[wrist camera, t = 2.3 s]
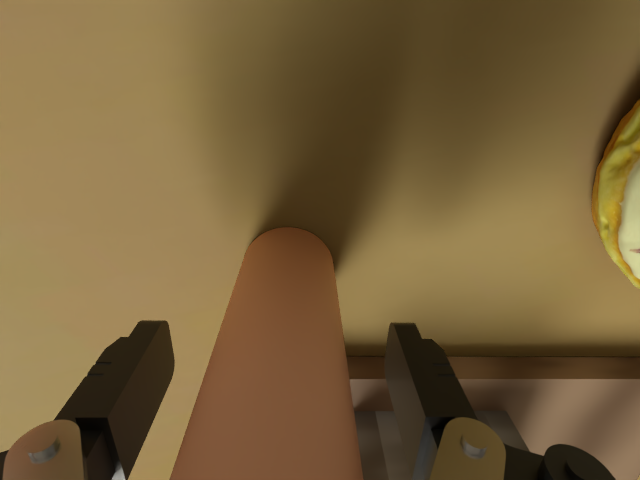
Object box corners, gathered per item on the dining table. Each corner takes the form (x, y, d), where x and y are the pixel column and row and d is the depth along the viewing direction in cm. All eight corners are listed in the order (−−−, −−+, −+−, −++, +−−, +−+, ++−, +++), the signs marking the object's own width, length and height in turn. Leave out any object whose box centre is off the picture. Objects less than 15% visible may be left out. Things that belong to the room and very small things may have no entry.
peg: (335, 227, 16) (404, 596, 5) (331, 306, 17) (374, 713, 6) (240, 226, 15) (80, 604, 4) (245, 305, 17) (137, 722, 6)
